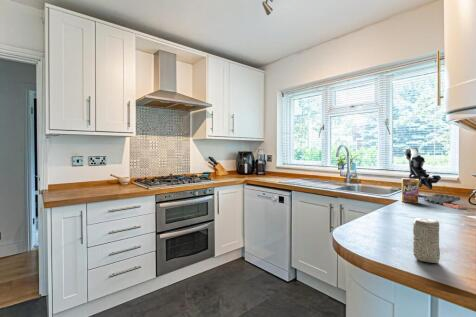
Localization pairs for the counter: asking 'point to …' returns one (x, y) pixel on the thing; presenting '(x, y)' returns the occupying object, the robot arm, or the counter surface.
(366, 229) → the counter surface
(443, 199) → the domino
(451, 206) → the end domino
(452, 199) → the domino
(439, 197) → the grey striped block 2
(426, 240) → the carving
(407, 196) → the candy box
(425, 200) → the domino
